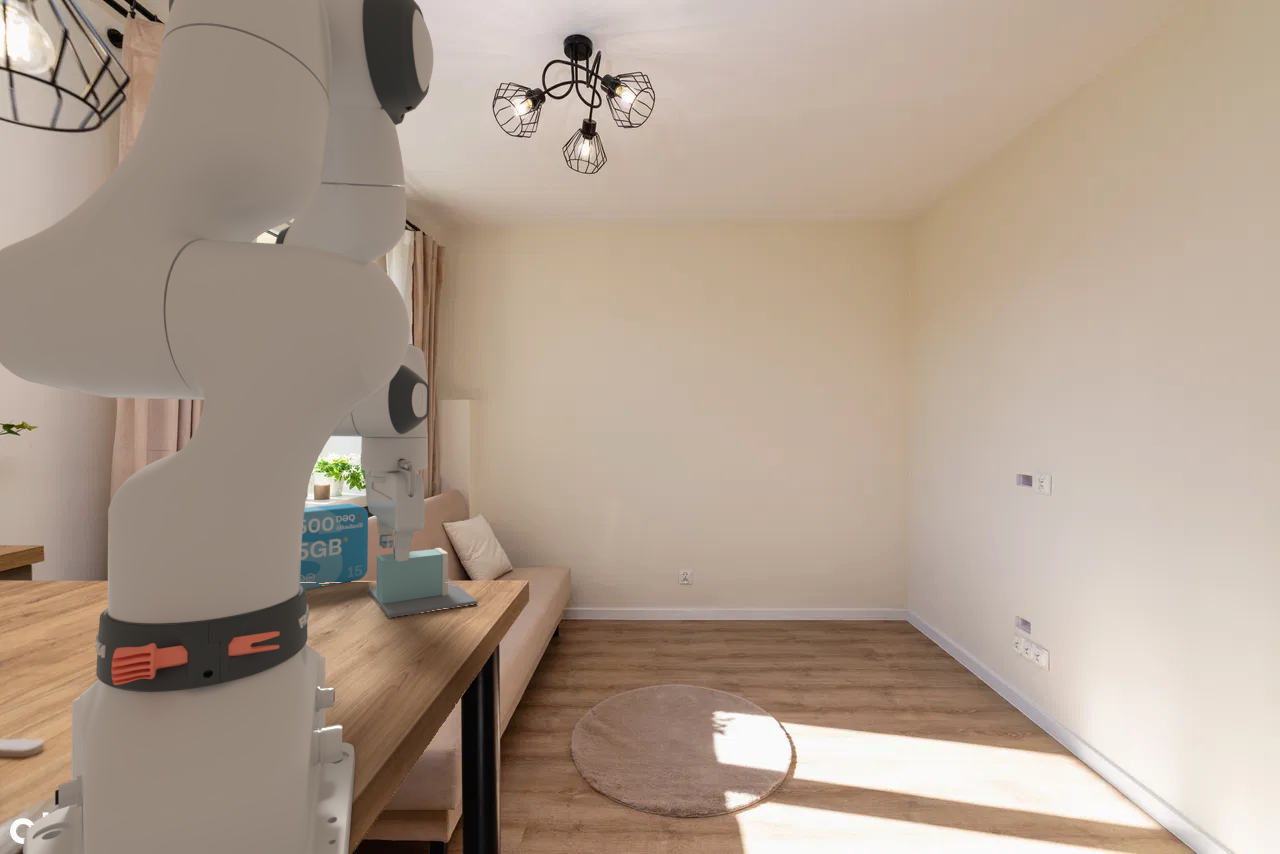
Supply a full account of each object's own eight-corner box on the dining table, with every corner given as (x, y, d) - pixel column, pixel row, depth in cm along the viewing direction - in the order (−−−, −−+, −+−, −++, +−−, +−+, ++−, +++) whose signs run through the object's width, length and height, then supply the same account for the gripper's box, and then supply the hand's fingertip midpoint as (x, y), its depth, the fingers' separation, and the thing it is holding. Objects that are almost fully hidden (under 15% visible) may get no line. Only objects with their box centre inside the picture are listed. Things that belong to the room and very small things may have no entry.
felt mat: (477, 604, 89) (477, 600, 89) (388, 618, 83) (388, 613, 83) (448, 581, 101) (448, 578, 101) (368, 592, 94) (368, 588, 94)
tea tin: (382, 604, 87) (447, 594, 92) (382, 560, 87) (448, 553, 92) (376, 597, 90) (439, 587, 95) (376, 554, 90) (440, 547, 95)
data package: (288, 593, 93) (289, 513, 93) (277, 587, 96) (278, 509, 96) (367, 578, 102) (368, 505, 102) (355, 573, 105) (356, 502, 105)
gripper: (437, 461, 82) (436, 566, 83) (401, 452, 99) (400, 539, 100) (387, 463, 79) (385, 571, 79) (358, 453, 96) (357, 542, 96)
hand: (393, 553), depth 89 cm, fingers open, 8 cm apart
